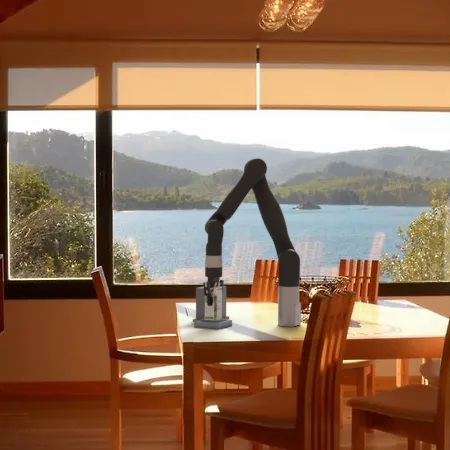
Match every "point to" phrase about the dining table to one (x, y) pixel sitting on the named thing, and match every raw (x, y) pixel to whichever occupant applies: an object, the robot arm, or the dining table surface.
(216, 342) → the dining table surface
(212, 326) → the tray
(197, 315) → the mounted unit
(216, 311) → the syrup box
